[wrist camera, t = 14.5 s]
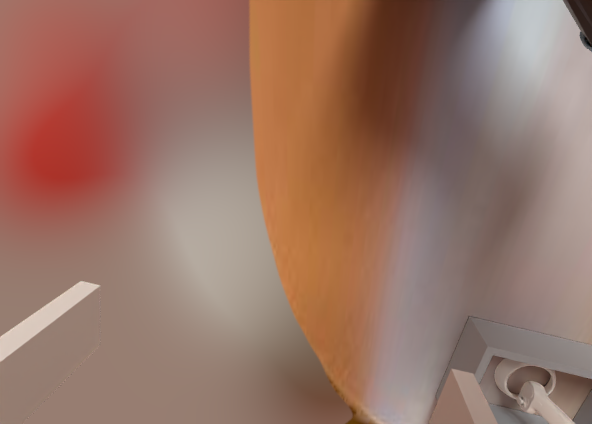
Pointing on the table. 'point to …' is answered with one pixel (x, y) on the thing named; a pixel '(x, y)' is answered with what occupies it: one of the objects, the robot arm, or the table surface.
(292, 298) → the table surface
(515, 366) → the white ring with handle
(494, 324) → the well
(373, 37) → the table surface
